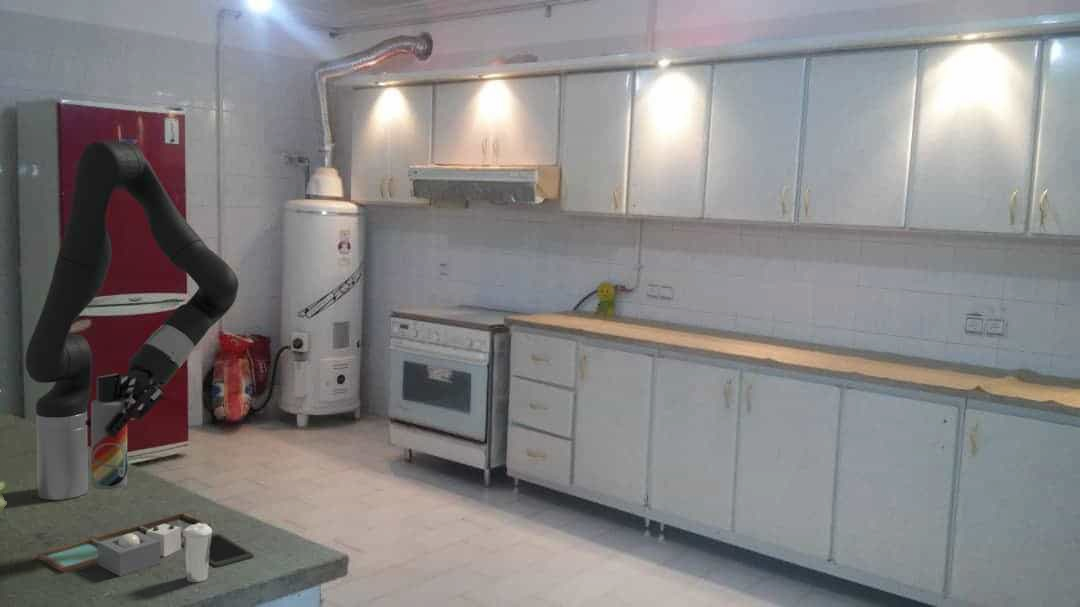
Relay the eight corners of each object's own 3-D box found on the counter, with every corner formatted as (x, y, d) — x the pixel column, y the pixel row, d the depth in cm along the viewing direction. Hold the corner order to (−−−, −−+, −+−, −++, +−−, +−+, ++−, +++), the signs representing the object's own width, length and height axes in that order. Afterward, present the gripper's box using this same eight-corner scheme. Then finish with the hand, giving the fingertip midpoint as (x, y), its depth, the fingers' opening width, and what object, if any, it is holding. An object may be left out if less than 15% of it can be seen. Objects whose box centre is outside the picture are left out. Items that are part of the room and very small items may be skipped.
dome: (114, 560, 150) (113, 534, 150) (133, 555, 153) (133, 528, 152) (124, 566, 148) (124, 539, 148) (144, 560, 151) (143, 533, 150)
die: (146, 552, 156) (146, 527, 155) (163, 544, 159) (163, 520, 159) (164, 556, 154) (164, 531, 154) (180, 548, 158) (181, 524, 157)
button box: (98, 564, 150) (97, 542, 149) (137, 552, 155) (137, 530, 155) (120, 576, 146) (120, 553, 145) (159, 563, 151) (159, 541, 151)
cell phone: (216, 570, 151) (216, 565, 151) (179, 546, 160) (179, 542, 160) (255, 559, 156) (255, 555, 156) (218, 536, 166) (218, 532, 165)
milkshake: (182, 572, 148) (182, 515, 147) (215, 572, 149) (215, 515, 148) (173, 584, 144) (173, 524, 143) (207, 584, 144) (207, 525, 143)
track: (37, 558, 151) (37, 553, 151) (183, 516, 174) (183, 512, 173) (63, 572, 146) (63, 568, 146) (210, 528, 168) (210, 524, 168)
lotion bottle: (113, 491, 152) (112, 378, 150) (84, 488, 154) (83, 375, 151) (134, 481, 158) (134, 372, 156) (105, 478, 159) (105, 369, 157)
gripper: (126, 337, 163) (62, 410, 155) (172, 348, 155) (106, 426, 147) (153, 361, 168) (92, 434, 160) (198, 373, 160) (136, 450, 152)
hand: (99, 430), depth 153 cm, fingers closed on lotion bottle, 5 cm apart
